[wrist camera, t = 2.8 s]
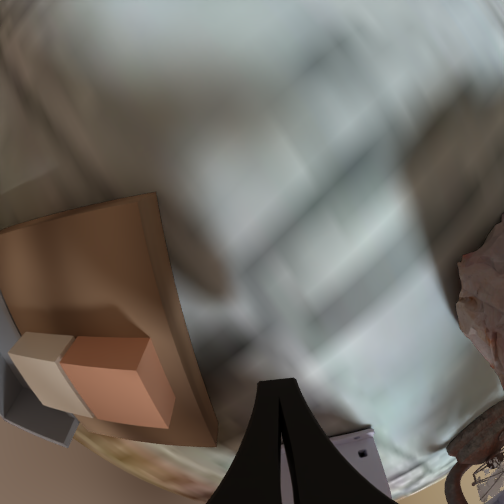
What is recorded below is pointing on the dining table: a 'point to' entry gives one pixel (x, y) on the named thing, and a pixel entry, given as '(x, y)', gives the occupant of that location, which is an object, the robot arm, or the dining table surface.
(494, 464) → the lantern
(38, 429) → the box
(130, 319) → the walnut plate
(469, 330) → the food item
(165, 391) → the tile terracotta
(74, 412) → the tile cream
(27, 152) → the dining table surface
